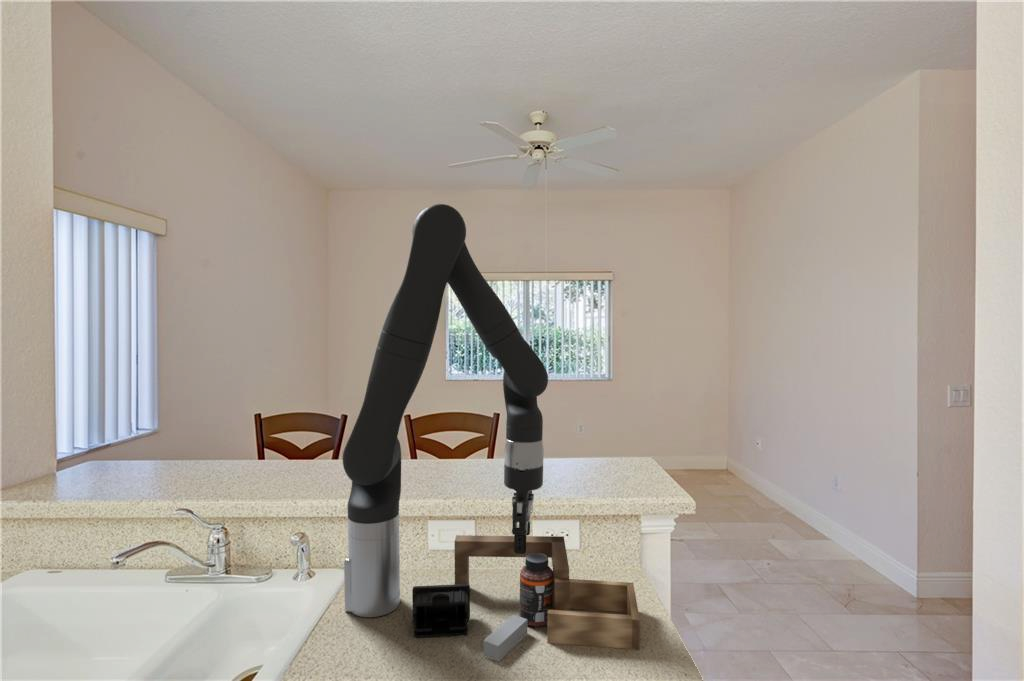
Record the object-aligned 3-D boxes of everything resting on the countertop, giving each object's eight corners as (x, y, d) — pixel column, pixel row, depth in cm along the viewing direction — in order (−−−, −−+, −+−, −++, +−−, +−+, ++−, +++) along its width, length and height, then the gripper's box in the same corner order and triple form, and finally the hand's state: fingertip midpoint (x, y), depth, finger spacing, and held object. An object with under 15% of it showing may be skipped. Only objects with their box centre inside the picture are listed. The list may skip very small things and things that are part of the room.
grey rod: (513, 630, 98) (513, 614, 98) (527, 635, 97) (527, 619, 97) (483, 657, 91) (483, 640, 91) (498, 663, 89) (498, 646, 89)
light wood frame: (547, 642, 94) (547, 613, 94) (551, 603, 107) (551, 577, 106) (639, 649, 92) (639, 619, 92) (632, 609, 105) (633, 582, 104)
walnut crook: (445, 631, 97) (445, 571, 97) (456, 586, 113) (456, 535, 112) (569, 633, 97) (569, 573, 96) (563, 588, 112) (563, 536, 112)
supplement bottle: (549, 630, 98) (549, 566, 97) (515, 625, 99) (516, 562, 99) (556, 612, 103) (556, 552, 103) (524, 608, 105) (524, 548, 104)
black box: (469, 613, 103) (469, 577, 103) (470, 636, 96) (470, 597, 96) (413, 616, 102) (413, 579, 102) (410, 639, 95) (410, 600, 95)
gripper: (509, 451, 117) (507, 528, 118) (499, 471, 103) (498, 558, 104) (545, 453, 116) (543, 530, 117) (540, 473, 102) (538, 561, 103)
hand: (522, 543), depth 111 cm, fingers open, 8 cm apart
